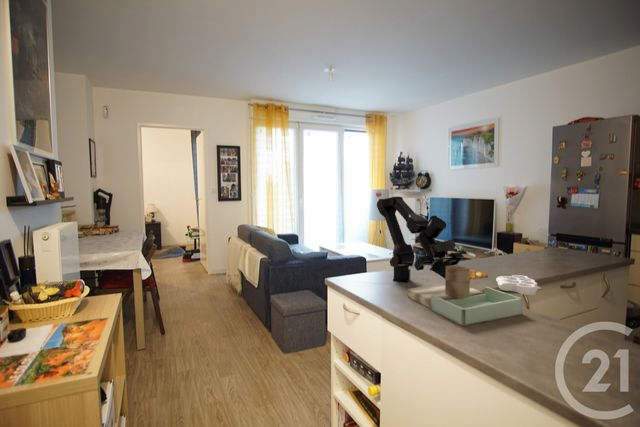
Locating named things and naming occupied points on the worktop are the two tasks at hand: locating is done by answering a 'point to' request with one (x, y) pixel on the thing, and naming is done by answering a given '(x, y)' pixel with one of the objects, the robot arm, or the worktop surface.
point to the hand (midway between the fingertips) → (450, 280)
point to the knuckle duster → (518, 284)
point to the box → (478, 307)
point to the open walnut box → (457, 281)
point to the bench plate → (433, 293)
